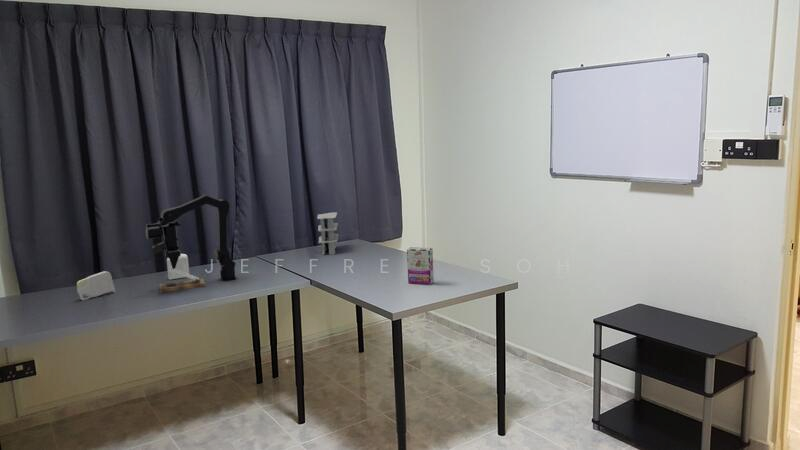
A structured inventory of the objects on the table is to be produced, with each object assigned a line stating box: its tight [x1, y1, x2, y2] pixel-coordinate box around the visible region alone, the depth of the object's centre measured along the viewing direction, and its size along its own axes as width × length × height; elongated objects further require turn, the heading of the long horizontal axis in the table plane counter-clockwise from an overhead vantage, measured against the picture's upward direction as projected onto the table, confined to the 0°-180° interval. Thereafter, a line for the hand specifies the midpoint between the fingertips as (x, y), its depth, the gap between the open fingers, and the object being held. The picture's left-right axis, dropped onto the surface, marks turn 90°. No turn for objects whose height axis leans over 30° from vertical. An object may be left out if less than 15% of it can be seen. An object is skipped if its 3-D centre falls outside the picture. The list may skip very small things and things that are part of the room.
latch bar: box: [169, 267, 200, 281], centre depth 278 cm, size 15×4×1 cm, turn 116°
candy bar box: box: [406, 247, 435, 286], centre depth 269 cm, size 11×5×16 cm, turn 68°
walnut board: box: [159, 278, 206, 293], centre depth 279 cm, size 20×10×3 cm, turn 115°
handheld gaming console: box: [76, 270, 116, 301], centre depth 267 cm, size 11×3×15 cm
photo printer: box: [166, 253, 190, 281], centre depth 296 cm, size 10×4×12 cm, turn 123°
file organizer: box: [316, 211, 339, 256], centre depth 346 cm, size 26×35×22 cm
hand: (173, 268), depth 276 cm, fingers closed
